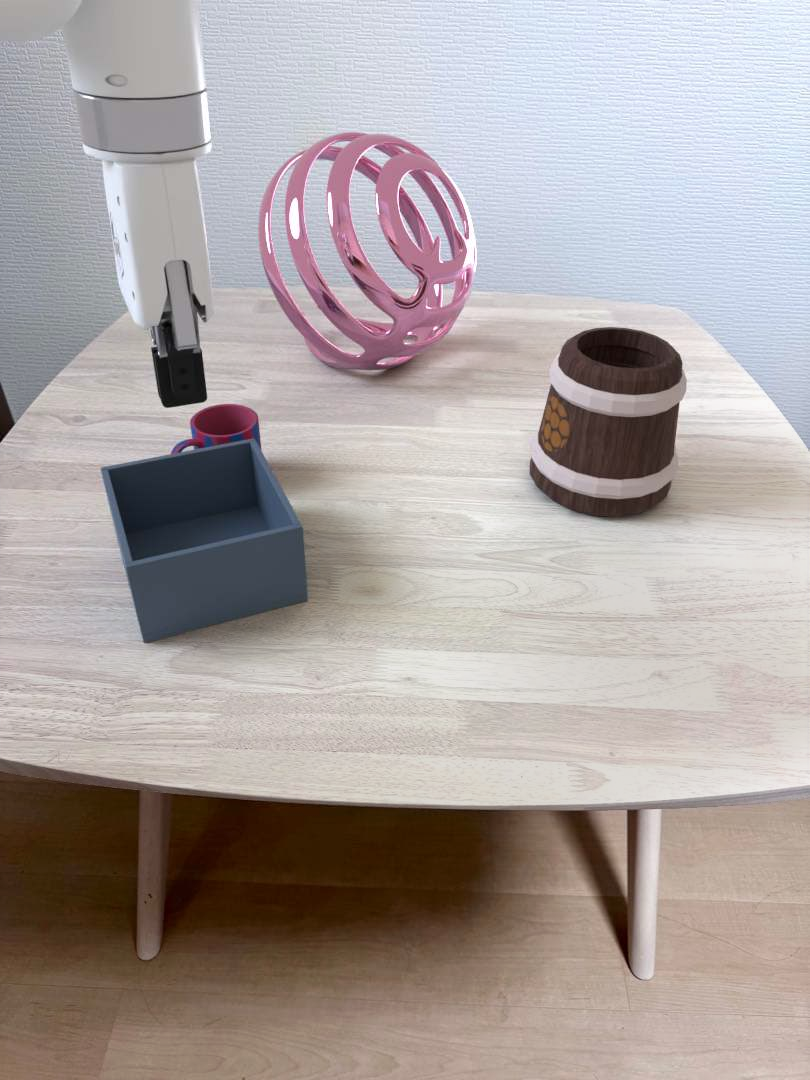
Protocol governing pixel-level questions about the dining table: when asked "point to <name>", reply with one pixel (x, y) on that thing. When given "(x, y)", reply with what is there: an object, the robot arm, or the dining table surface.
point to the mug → (610, 423)
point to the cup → (221, 427)
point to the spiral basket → (420, 259)
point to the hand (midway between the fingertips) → (183, 399)
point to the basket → (205, 537)
